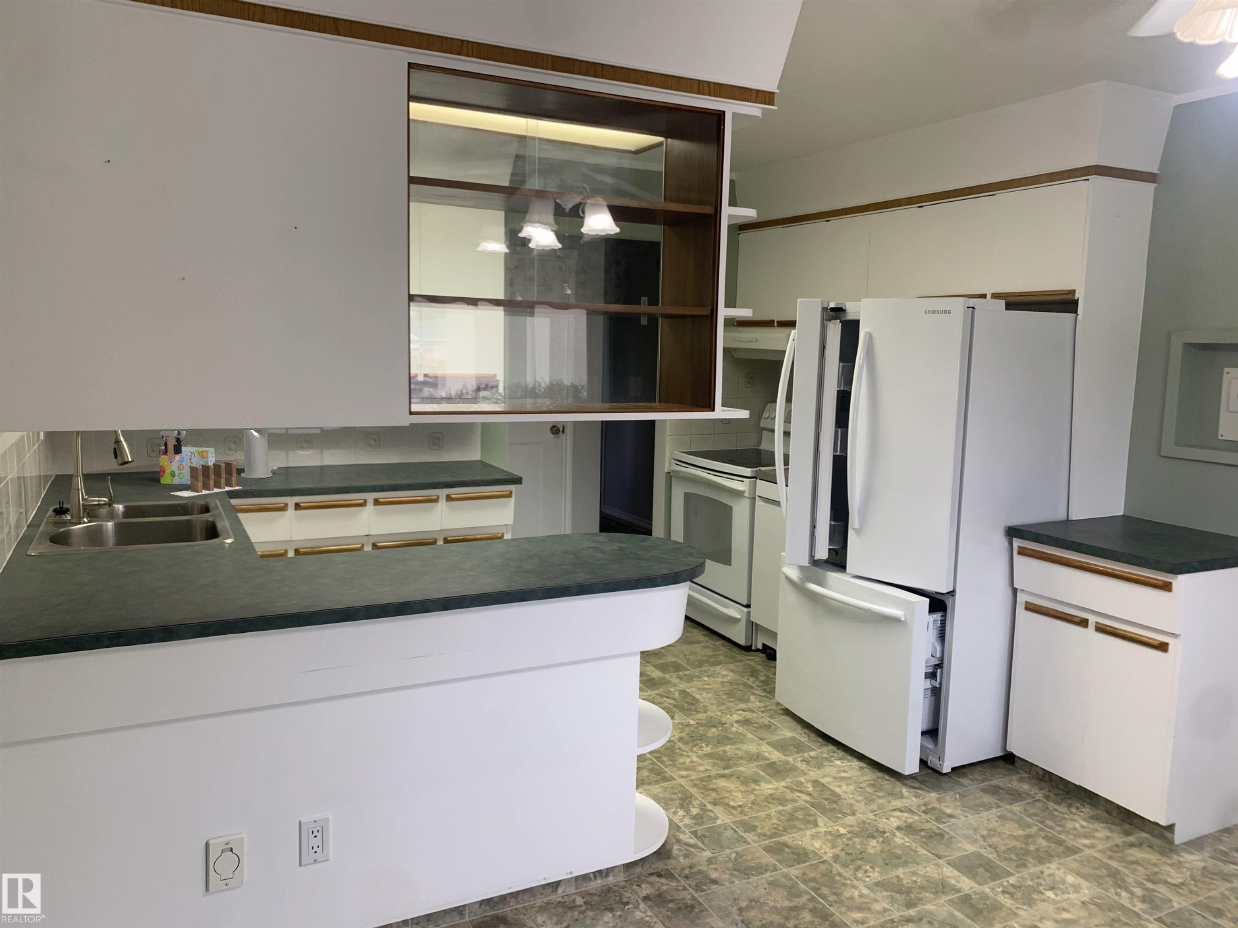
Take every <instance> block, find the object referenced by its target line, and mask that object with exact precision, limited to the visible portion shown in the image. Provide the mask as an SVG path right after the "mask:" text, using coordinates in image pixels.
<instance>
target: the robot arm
mask: <svg viewBox="0 0 1238 928" xmlns="http://www.w3.org/2000/svg"><path fill="white" fill-rule="evenodd" d="M242 430H243V429H242ZM186 433H187V432H186V431H161V432H160V431H159V435H160V437H161V438H162V443H163V445H164V446H163V447H164V448H165V453H168V448H167V436H171V437H173V440H174V444H173V450H174V454H175V455H176V454H182V447H183V445H182V444H183V441H184V439H185V438H186ZM177 434H178V436H176V435H177ZM176 438H178V439H177V440H176ZM268 438H269V437H268V432H267V429H266V430H243V450H244V451H243V455H244V456H243V457H244V461H243V462H244V472H241V473H240V477H242V478H248V479H249V478H250V479H251V478H252V479H264V478H265V479H266V478H270V477H272V476H273V472H272V471H277V470H278V469H279V468H278V465H271V464H269V445H268V444H269V442H268V440H269V439H268Z"/></svg>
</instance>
